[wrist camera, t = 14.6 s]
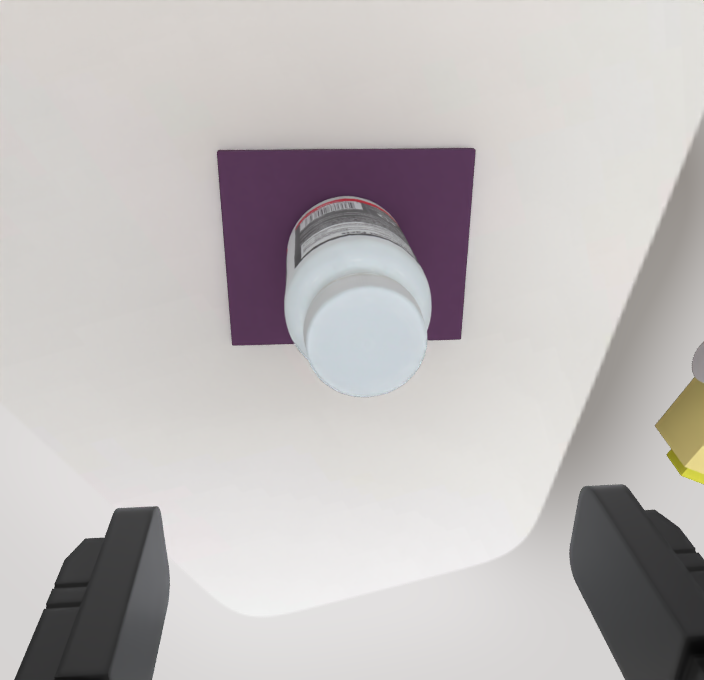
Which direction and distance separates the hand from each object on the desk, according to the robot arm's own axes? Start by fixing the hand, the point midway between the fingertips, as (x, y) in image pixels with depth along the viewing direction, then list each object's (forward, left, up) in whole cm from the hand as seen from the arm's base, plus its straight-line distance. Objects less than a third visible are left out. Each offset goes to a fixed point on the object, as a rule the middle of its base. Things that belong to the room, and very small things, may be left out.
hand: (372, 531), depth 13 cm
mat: (+1, -1, -20) cm, 20 cm away
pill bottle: (+1, -1, -19) cm, 19 cm away
